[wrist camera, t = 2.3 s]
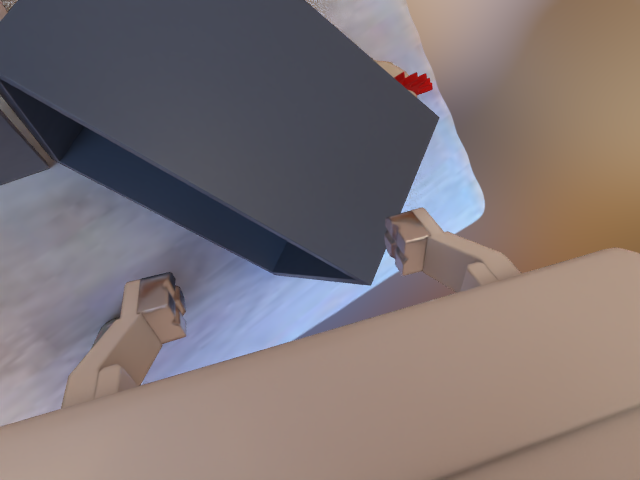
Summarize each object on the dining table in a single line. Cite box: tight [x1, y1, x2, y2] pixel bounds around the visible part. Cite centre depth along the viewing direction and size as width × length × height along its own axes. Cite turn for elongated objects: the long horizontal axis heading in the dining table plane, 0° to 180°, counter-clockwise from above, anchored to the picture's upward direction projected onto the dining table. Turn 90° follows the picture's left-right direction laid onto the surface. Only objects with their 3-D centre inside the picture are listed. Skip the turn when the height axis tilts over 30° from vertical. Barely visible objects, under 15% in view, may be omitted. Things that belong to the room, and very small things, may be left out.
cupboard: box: [0, 0, 439, 285], centre depth 40 cm, size 18×30×24 cm, turn 64°
